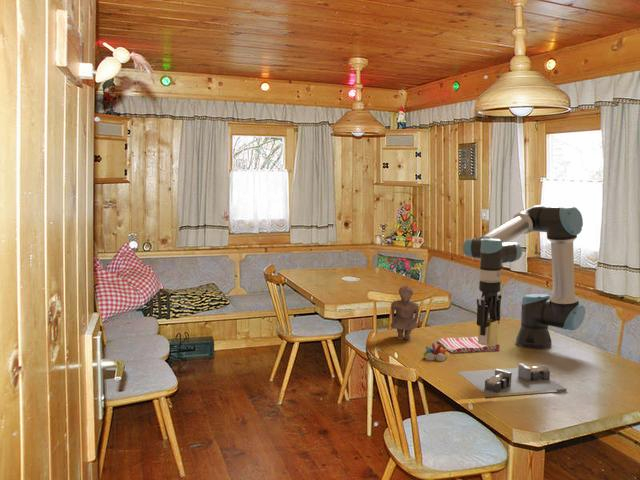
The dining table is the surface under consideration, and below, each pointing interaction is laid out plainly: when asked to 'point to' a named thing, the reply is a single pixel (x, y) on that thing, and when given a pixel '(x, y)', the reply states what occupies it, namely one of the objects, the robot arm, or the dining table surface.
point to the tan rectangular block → (490, 332)
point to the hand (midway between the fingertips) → (487, 341)
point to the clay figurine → (404, 313)
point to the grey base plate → (516, 383)
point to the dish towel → (465, 345)
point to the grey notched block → (498, 381)
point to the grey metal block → (533, 373)
